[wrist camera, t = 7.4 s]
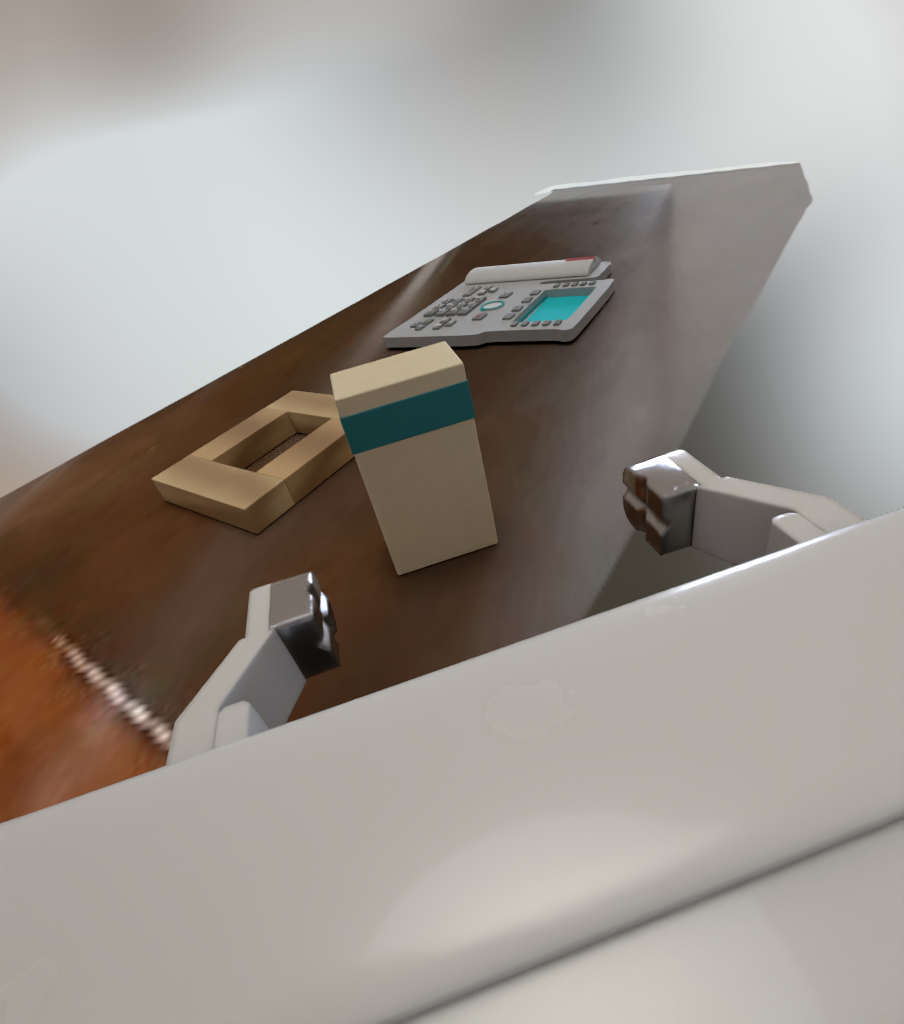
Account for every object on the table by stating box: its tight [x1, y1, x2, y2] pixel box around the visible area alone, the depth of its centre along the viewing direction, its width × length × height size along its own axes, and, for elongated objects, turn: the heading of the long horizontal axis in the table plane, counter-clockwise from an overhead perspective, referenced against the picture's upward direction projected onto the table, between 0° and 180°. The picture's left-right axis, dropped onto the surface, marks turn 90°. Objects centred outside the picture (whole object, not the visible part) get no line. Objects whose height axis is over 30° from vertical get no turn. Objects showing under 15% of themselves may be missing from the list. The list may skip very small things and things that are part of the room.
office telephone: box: [383, 256, 614, 347], centre depth 57 cm, size 23×3×20 cm
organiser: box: [151, 391, 354, 534], centre depth 39 cm, size 14×11×2 cm
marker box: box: [330, 341, 498, 575], centre depth 26 cm, size 6×3×10 cm, turn 104°
